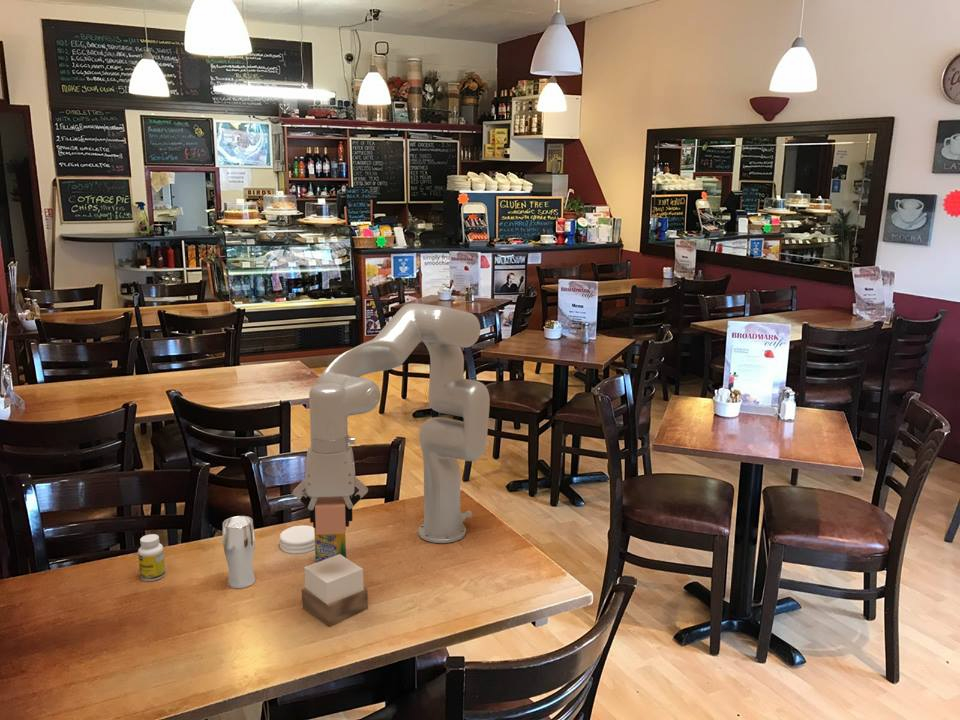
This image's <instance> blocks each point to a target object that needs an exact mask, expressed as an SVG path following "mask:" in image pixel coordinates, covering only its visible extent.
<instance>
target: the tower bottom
mask: <svg viewBox="0 0 960 720" xmlns="http://www.w3.org/2000/svg"><path fill="white" fill-rule="evenodd" d="M368 592H369V591H368V588H365V587H364V590H362V591H360V592H358V593H355V594H353V595H350V596H348V597H346V598H343V599H341V600H338V601H336V602H334V603H331V604H329V605H327V604H326V603H324V602H323V601H321V600H320V599H319V598H317V597H316V596H315V595H313V594H312V593H311V592H309V591H308V590H307V589H305V587H304V588H301V599H302V600H301V606H302V609H303V610H304V611H306V613H308V614H310V615H311V616H312V617H314V618H315V619H317V620H318V621H320V622H321V623H323V624H324V625H325V626H327V627H329V628H331V627H333V626H335V625H337V624H340V623H342V622H343V621H345V620H348V619H349V618H352V617H354V616H356V615H359V614H360V613H362V612H364V611H367V610H368V609H369V605H368V604H369V602H368V601H369V600H368V598H369V597H368Z"/></svg>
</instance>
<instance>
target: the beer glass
mask: <svg viewBox="0 0 960 720" xmlns="http://www.w3.org/2000/svg"><path fill="white" fill-rule="evenodd" d="M254 528H255V527H254V520H253V518H252V517H250V516H247V515H236V516H231V517H229V518H227V519H224V521H223V522H222V545H223V550H224V555H225V559H226V562H227V567H228V578H227V585H228V587H229V588H232V589H243V588H248V587H250V586H252V585H253V584H254V583H255V581H256V575H255V572H254V566H253V561H254V554H255V553H254V552H255V544H256V539H255V538H256V537H255V535H256V534H255V529H254Z"/></svg>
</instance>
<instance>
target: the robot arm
mask: <svg viewBox="0 0 960 720" xmlns="http://www.w3.org/2000/svg"><path fill="white" fill-rule="evenodd" d="M480 334H481V324H480V321H479V319H478V317H477V316H476V315H475V314H474V313H471V312H468V311H463V310H458V309H455V308H451V307H447V306H442V305H434V304H425V303H415V302H414V303H413V302H412V303H408V304H404V305H402V307H401V308H399V310H398V311H396V313H395V314H394V315H393V316H392V317H391V319H390V320H389V321H388V322H387V323H386V324H385V325H384V327H383V328H382V329H381V330H380V331H379V332H378V334H377V335H376V336H375V337H374V338H373V339H370V340H368V341H365V342H363V343H361V344H359V345H356V346H355V347H353V348H351V349H349V350H347V351H344V352H343V353H341V354H340V355H338V356H337V357H336V358H334V360H333V361H332V362H331V363H329V365H328V366H327V367H326V368H325V369H324V370H323V372H322V373H321V375H319V377H318V378H317V381H316V383H315V385H313V386H312V387H311V388H310V389H309V392H308V393H309V397H308V398H309V399H308V400H309V427H310V431H309V432H310V433H309V434H310V447H309V448H307V452H306V458H305V459H306V461H305V472H304V474H305V475H304V476H305V477H304V479H303V480H302V481H301V482H300V483H299V484H298V485H297V486H296V487H295V488H294V489H293V490H292V496H294V497H295V498H296V499H298V500H299V501H300V502H301V503H302V504H303V505H304V506H306V508H307V509H308V510H309V522H310V523H313V526H312V527H313V528H316V520H315V506H316V501H317V499H318V498H325V497H343V498H344V501H345V503H346V508H345V518H346V528H349V527H350V522H353V508H354V507H355V505H356V504H357V503H358V502H359V501H361V499H362V498H363V497H364V496H366V494H367V493H368V492H369V488H368V487H367V485H365V484H364V483H363V482H362V480H360V479H358V477H357V476H356V469H355V468H356V467H355V458H354V457H355V456H354V452H353V448H352V446H350V445H355V444H356V443H355V442H356V437H354V436H350V435H349V431H348V424H349V423H348V417H350V416H356V415H358V416H359V415H364V414H367V413H369V412H371V411H373V410H374V409H375V408H376V407H377V406H378V404H379V403H380V400H381V396H382V395H381V389H380V387H379V385H378V384H377V383H376V382H375V381H373V380H372V379H368V378H365V377H362V376H365V375H368V374H372V373H378V372H379V373H380V372H385V371H388V370H392V369H395V368H398V367H400V366H401V365H403V364H404V362H405V361H406V360H407V359H408V357H409V356H410V355H411V354H412V352H413V351H415V349H416V348H417V346H418V345H419V344H420V343H421V342H423V343H424V345H425V346H426V348H427V351H428V353H429V358H430V368H429V383H428V384H429V385H428V404H429V406H430V409H432V410H433V411H435V412H438V413H441V414H446V415H451V416H456V417H460V418H461V417H462V418H463V420H462V421H461V420H458V419H452V418H449V417H442V416H441V417H439V416H433V417H431V418H428V419H426V420H425V421H424V422H423V424H422V425H421V427H420V429H419V430H420V431H419V444H420V448H421V454H422V459H423V460H422V461H423V523H421V525H419V526H418V529H417V531H418V532H417V533H418V536H419V537H420V538H421V539H423V540H424V541H427V542H429V543H433V544H434V543H435V544H449V543H453V542H457V541H460V540H461V539H463V538H464V537H465V536H466V533H467V528H466V526H465V525H464V522H465V521H466V520H467V519H470V518H472V517H473V512H472V511H471V510H466V511H464V512H462V511H461V468H460V463H459V462H458V460H463V461H466V462H476V461H478V460H480V459H482V457H483V455H484V453H485V451H486V449H487V441H488V431H489V430H488V428H489V418H490V417H489V416H490V401H491V400H490V398H491V397H490V393H489V390H488V388H487V386H486V385H485V384H484V383H483V382H480V381H478V380H473V379H469V378H468V379H466V378H465V376H464V372H465V371H464V368H465V367H464V366H465V365H464V364H465V359H464V358H465V357H464V354H463V350H462V348H470V347H472V346H473V345H475V343H477V342H478V339H479V337H480V336H481V335H480ZM355 488H357V489H358V491H357V492H355V491H356V490H355ZM304 490H305V493H304V492H303V491H304Z"/></svg>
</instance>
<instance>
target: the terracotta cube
mask: <svg viewBox="0 0 960 720" xmlns="http://www.w3.org/2000/svg"><path fill="white" fill-rule="evenodd" d="M345 508H346V503H345V501H344V498H343V497H325V498H318V499H317V501H316V506H315V520H316V535H322V534H345V535H346V532H347V527H346V518H345Z"/></svg>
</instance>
